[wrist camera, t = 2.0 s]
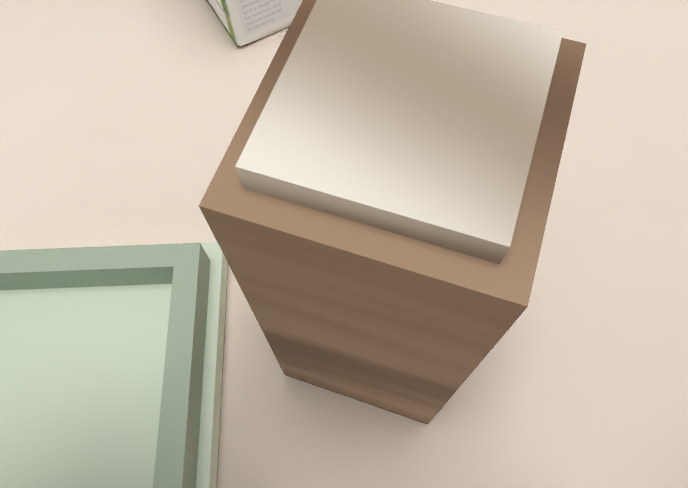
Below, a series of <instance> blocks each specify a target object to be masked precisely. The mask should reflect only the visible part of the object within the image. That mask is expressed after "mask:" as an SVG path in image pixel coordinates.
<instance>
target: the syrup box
mask: <svg viewBox="0 0 688 488" xmlns="http://www.w3.org/2000/svg"><path fill="white" fill-rule="evenodd" d="M207 1H208V3H209V4H210V5H211V7H212V8H213V10H214V11H215V13H216V15H217V16H218V17H219V19H220V20H221V22H222V23H223V25H224V27H225V28H226V30H227V31H228V33H229V34H230V36H231V37H232V39H233V40H234V42H235V43H236V44H237V45H238V46H242V45H246V44H248V43H251V42H253V41H256V40H258V39H261V38H263V37H266V36H268V35H271V34H273V33H275V32H278V31H280V30H282V29H284V28H286V27H289V26H290V24H291V22H292V20H293V19H294V17H295V15H296V13H297V11H298V9H299V7H300V5H301V3H302V1H303V0H207Z"/></svg>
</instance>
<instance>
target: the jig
mask: <svg viewBox="0 0 688 488" xmlns="http://www.w3.org/2000/svg"><path fill="white" fill-rule="evenodd" d="M227 273H228V262H227V260H226V258H225V256H224V254H223V252H222V250H221V248H220V246H219V244H218V242H217V243H185V244H159V245H134V246H108V247H82V248H57V249H31V250H5V251H0V488H216V486H217V467H218V447H219V428H220V409H221V389H222V370H223V350H224V331H225V312H226V292H227Z"/></svg>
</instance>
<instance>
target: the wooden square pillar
mask: <svg viewBox="0 0 688 488" xmlns="http://www.w3.org/2000/svg"><path fill="white" fill-rule="evenodd" d="M562 35H563V31H559V30H554V29H550V28H546V27H541V26H537V25H533V24H529V23H524V22H520V21H516V20H511V19H507V18H503V17H499V16H494V15H490V14H486V13H482V12H477V11H473V10H469V9H464V8H460V7H456V6H452V5H447V4H443V3H439V2H435V1H430V0H303V1H302V3H301V5H300V7H299V9H298V11H297V13H296V15H295V17H294V19H293V20H292V22H291V24H290V26H289V28H288V30H287V32H286V34H285V36H284V38H283V40H282V42H281V44H280V46H279V48H278V50H277V52H276V54H275V56H274V58H273V60H272V62H271V64H270V66H269V68H268V70H267V72H266V74H265V76H264V78H263V80H262V82H261V84H260V86H259V88H258V90H257V92H256V94H255V96H254V98H253V100H252V102H251V104H250V106H249V108H248V110H247V112H246V114H245V116H244V118H243V119H242V121H241V123H240V125H239V127H238V129H237V131H236V133H235V135H234V137H233V139H232V141H231V143H230V145H229V147H228V149H227V151H226V153H225V155H224V157H223V159H222V161H221V163H220V165H219V167H218V169H217V171H216V173H215V175H214V177H213V179H212V181H211V183H210V185H209V187H208V189H207V191H206V193H205V195H204V197H203V199H202V201H201V203H200V205H199V207H200V209H201V211H202V213H203V215H204V217H205V219H206V221H207V223H208V225H209V226H210V228H211V230H212V232H213V234H214V236H215V238H216V240H217V242H218V244H219V246H220V248H221V250H222V252H223V254H224V256H225V258H226V260H227V262H228V264H229V266H230V268H231V270H232V272H233V274H234V276H235V278H236V280H237V282H238V283H239V285H240V287H241V289H242V291H243V293H244V295H245V297H246V299H247V301H248V303H249V305H250V307H251V309H252V311H253V313H254V315H255V317H256V319H257V321H258V323H259V325H260V327H261V329H262V331H263V333H264V335H265V337H266V338H267V340H268V342H269V344H270V346H271V348H272V350H273V352H274V354H275V356H276V358H277V360H278V362H279V364H280V366H281V368H282V370H283V372H284V374H285V375H287V376H290V377H293V378H296V379H299V380H302V381H304V382H307V383H310V384H313V385H316V386H319V387H322V388H325V389H328V390H330V391H333V392H336V393H339V394H342V395H345V396H348V397H351V398H353V399H356V400H359V401H362V402H365V403H368V404H371V405H374V406H377V407H379V408H382V409H385V410H388V411H391V412H394V413H397V414H400V415H402V416H405V417H408V418H411V419H414V420H417V421H420V422H423V423H426V424H428V423H429V422H430V421H431V420H432V419H433V417H434V416H435V415H436V414H437V413H438V412H439V410H440V409H441V408H442V407H443V406H444V404H445V403H446V402H447V401H448V400H449V399H450V397H451V396H452V395H453V394H454V393H455V392H456V390H457V389H458V388H459V387H460V386H461V384H462V383H463V382H464V381H465V380H466V379H467V377H468V376H469V375H470V374H471V373H472V371H473V370H474V369H475V368H476V367H477V366H478V364H479V363H480V362H481V361H482V360H483V359H484V357H485V356H486V355H487V354H488V353H489V351H490V350H491V349H492V348H493V347H494V346H495V344H496V343H497V342H498V341H499V340H500V338H501V337H502V336H503V335H504V334H505V333H506V331H507V330H508V329H509V328H510V327H511V326H512V324H513V323H514V322H515V321H516V320H517V318H518V317H519V316H520V315H521V314H522V313H523V311H524V310H525V309H526V308H527V307H528V302H529V298H530V293H531V289H532V284H533V280H534V275H535V271H536V266H537V262H538V257H539V253H540V248H541V244H542V239H543V235H544V230H545V226H546V221H547V217H548V213H549V208H550V204H551V199H552V195H553V190H554V186H555V181H556V177H557V172H558V168H559V163H560V159H561V154H562V150H563V145H564V141H565V136H566V132H567V127H568V123H569V119H570V114H571V110H572V105H573V101H574V96H575V92H576V87H577V83H578V78H579V74H580V69H581V65H582V60H583V56H584V51H585V47H586V44H585V43H581V42H577V41H573V40H568V39H564V38H562Z"/></svg>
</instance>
